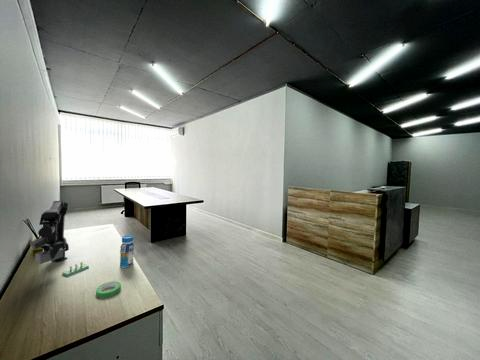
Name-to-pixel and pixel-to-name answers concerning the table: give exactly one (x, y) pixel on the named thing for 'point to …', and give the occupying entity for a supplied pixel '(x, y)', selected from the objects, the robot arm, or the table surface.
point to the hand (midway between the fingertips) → (49, 257)
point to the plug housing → (47, 256)
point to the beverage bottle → (126, 252)
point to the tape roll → (108, 293)
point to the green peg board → (75, 269)
